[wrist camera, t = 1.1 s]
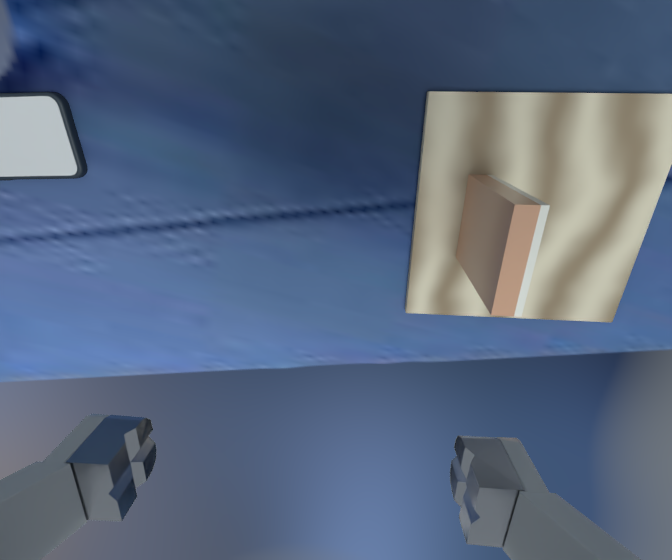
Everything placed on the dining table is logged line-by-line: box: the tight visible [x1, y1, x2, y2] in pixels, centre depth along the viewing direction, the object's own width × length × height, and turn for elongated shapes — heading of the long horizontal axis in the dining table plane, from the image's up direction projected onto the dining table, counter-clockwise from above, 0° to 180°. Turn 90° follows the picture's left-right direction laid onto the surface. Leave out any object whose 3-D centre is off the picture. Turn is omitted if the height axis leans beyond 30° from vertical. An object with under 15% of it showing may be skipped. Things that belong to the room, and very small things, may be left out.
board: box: [405, 91, 672, 322], centre depth 40 cm, size 24×24×1 cm
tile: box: [456, 174, 550, 317], centre depth 34 cm, size 9×2×13 cm, turn 179°
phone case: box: [0, 92, 87, 180], centre depth 41 cm, size 9×2×16 cm
